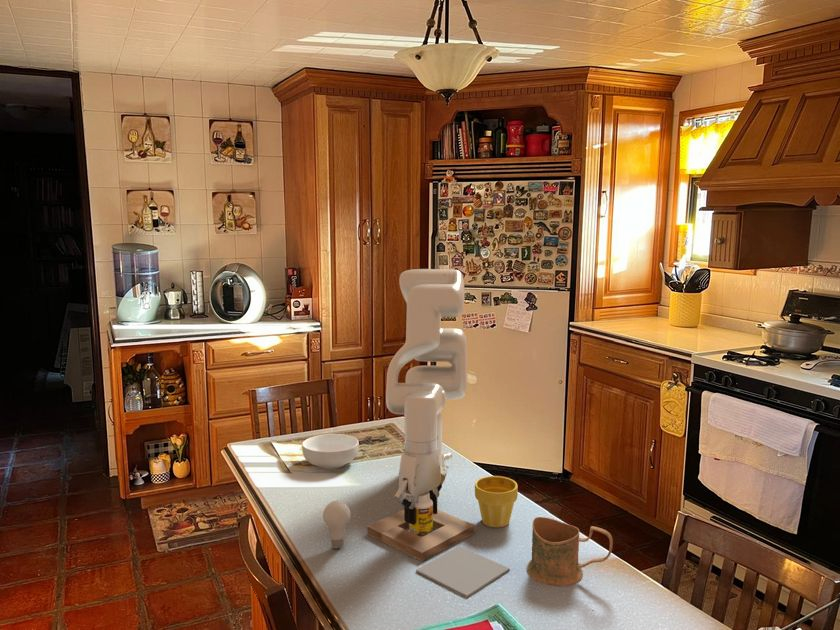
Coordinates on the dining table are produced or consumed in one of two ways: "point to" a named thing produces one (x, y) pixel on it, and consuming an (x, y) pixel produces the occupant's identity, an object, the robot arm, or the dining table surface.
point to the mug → (558, 552)
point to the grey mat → (463, 571)
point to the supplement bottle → (423, 515)
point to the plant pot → (496, 499)
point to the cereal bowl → (330, 450)
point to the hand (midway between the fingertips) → (421, 516)
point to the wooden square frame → (414, 545)
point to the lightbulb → (336, 521)
